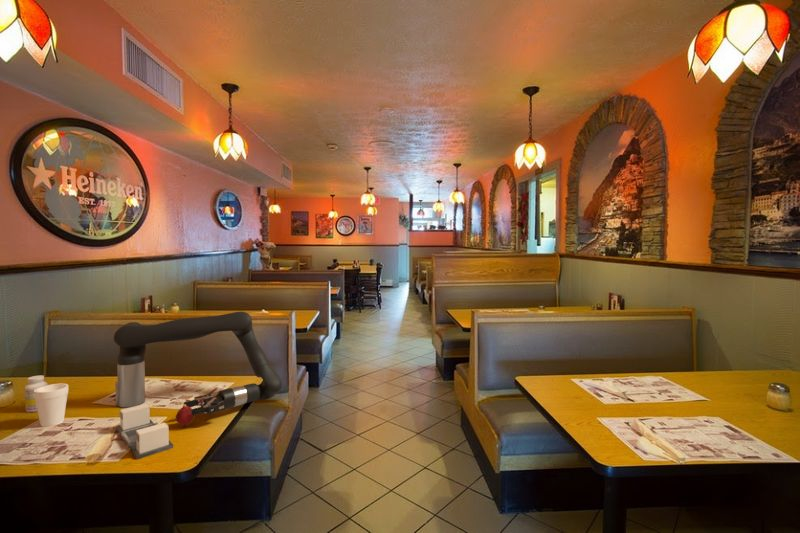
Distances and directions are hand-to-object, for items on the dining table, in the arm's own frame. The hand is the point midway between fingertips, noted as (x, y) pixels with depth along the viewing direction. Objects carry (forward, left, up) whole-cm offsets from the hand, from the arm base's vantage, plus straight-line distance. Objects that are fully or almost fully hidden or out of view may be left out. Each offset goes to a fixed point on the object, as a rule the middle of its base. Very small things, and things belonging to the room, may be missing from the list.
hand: (187, 409), depth 142 cm
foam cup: (-49, -7, -6) cm, 50 cm away
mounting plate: (-8, -11, -6) cm, 15 cm away
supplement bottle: (-67, +2, -6) cm, 67 cm away
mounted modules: (-8, -12, -5) cm, 15 cm away
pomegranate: (-1, -1, -6) cm, 6 cm away
